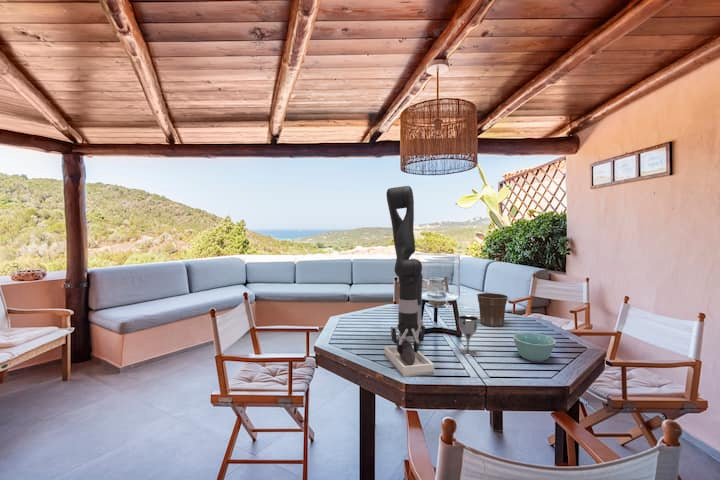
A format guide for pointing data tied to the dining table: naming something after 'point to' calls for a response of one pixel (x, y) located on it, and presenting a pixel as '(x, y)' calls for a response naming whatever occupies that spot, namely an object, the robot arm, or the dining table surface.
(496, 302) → the plant pot
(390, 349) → the tray
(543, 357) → the bowl
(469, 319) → the wine glass
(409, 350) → the perforated stone tool
